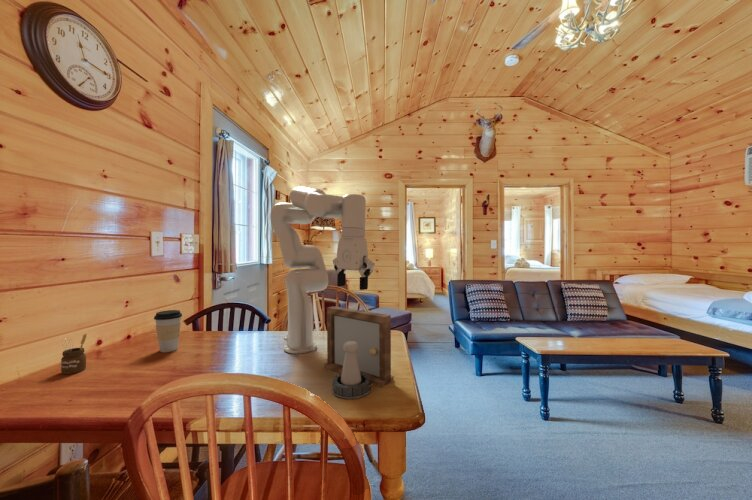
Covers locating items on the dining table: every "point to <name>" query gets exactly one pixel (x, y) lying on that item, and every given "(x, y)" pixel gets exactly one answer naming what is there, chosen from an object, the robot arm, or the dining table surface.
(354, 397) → the socket
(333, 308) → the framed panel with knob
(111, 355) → the dining table surface
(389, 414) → the dining table surface
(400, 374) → the dining table surface
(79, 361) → the utensil holder
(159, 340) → the coffee cup
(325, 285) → the robot arm
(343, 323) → the door
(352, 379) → the salt shaker
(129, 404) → the dining table surface
